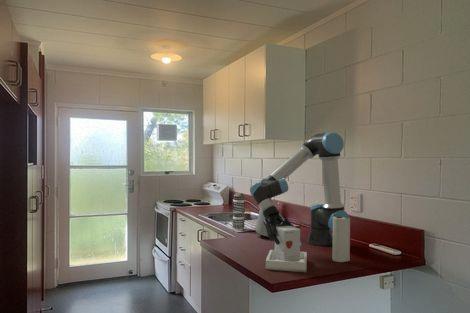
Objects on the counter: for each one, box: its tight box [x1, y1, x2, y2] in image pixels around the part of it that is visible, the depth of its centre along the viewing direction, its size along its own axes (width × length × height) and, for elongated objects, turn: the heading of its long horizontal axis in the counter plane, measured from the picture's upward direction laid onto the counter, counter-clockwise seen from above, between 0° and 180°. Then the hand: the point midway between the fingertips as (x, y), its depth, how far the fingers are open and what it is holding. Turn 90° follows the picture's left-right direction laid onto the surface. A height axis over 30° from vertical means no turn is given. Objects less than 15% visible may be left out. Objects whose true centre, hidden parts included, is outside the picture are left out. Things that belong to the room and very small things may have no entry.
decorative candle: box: [231, 192, 246, 231], centre depth 237 cm, size 9×9×25 cm
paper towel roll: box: [331, 217, 351, 263], centre depth 166 cm, size 7×6×21 cm
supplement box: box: [273, 225, 301, 262], centre depth 159 cm, size 9×9×15 cm
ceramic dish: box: [265, 249, 308, 273], centre depth 159 cm, size 18×18×4 cm
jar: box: [254, 202, 283, 238], centre depth 215 cm, size 19×15×25 cm
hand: (291, 247), depth 157 cm, fingers closed on supplement box, 10 cm apart
